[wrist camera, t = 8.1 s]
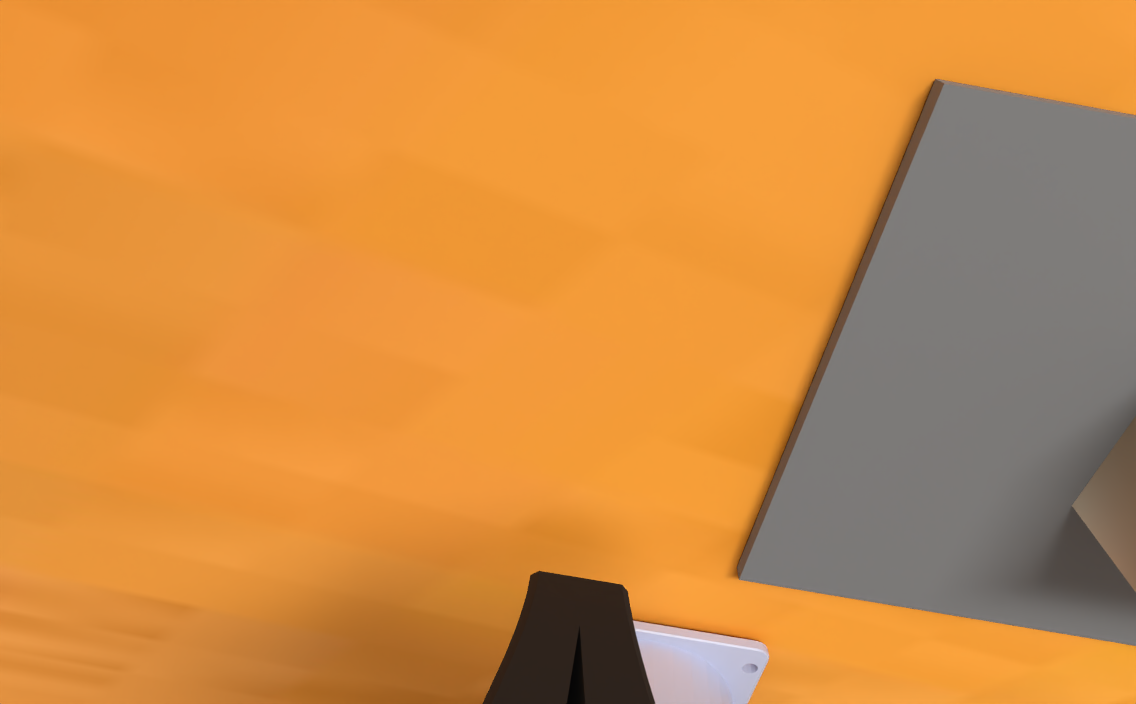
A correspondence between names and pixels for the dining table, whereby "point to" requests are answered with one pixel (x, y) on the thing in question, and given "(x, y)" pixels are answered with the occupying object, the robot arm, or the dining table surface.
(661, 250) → the dining table surface
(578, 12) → the dining table surface
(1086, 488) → the maple block
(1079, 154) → the rubber mat
